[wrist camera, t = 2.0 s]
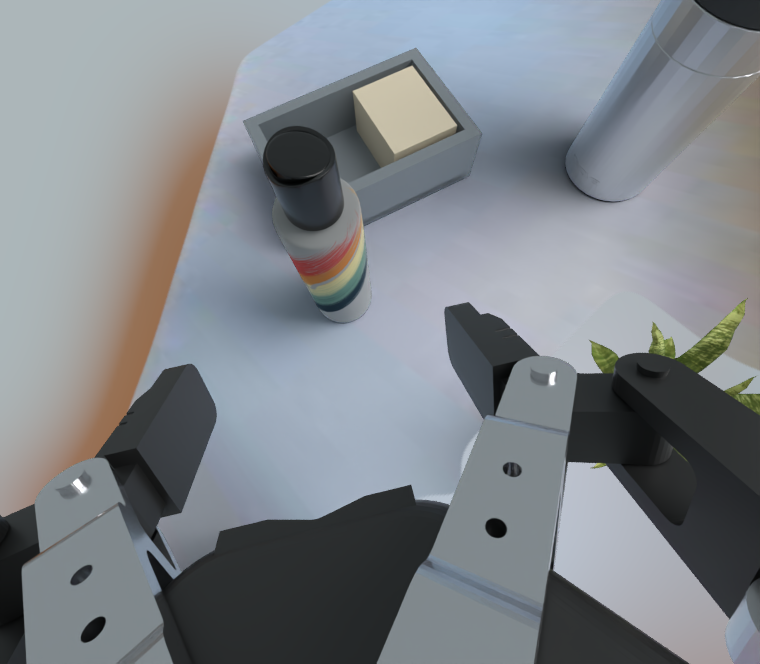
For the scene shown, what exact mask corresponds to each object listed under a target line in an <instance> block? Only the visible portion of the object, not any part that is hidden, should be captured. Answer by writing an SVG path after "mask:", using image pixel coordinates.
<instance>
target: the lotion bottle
mask: <svg viewBox="0 0 760 664" xmlns="http://www.w3.org/2000/svg"><path fill="white" fill-rule="evenodd" d="M263 167H264V171H265V174H266V176H267V178H268V180H269V182H270V184H271V186H272V188H273V190H274V192H275V195H276V199H275V201H274V204H273V209H272V219H273V224H274V227H275V230H276V232H277V234H278V236H279V238H280V240H281V241H282V243H283V245H284V247H285V249H286V251H287V252H288V254H289V256H290V258H291V260H292V261H293V263H294V265H295V267H296V269H297V271H298V272H299V274H300V276H301V278H302V280H303V281H304V283H305V285H306V287H307V289H308V290H309V292H310V294H311V296H312V298H313V299H314V301H315V303H316V305H317V306H318V308H319V310H320V311H321V312H322V314H323V315H324V316H326V317H327V318H328V319H330V320H332V321H335V322H339V323H347V322H352V321H354V320H357V319H358V318H360V317H361V316H362V315H363V314H364V313H365V312H366V311H367V309H368V307H369V305H370V302H371V284H370V276H369V268H368V260H367V252H366V244H365V236H364V228H363V221H362V213H361V207H360V203H359V199H358V197H357V195H356V193H355V191H354V190H353V188H352V187H351V186H350V185H349V184H348V183H347V182H345V181H344V180H342V179H341V178H340V175H339V170H338V164H337V159H336V154H335V150H334V148H333V146H332V144H331V143H330V141H329V140H328V139H327V138H326V137H325V136H323V135H322V134H321V133H319V132H317V131H316V130H313V129H311V128H308V127H304V126H289V127H285V128H283V129H281V130H279V131H277V132H276V133H275V134H273V135H272V137H271V138H270V139H269V140H268V142H267V144H266V146H265V149H264V153H263Z"/></svg>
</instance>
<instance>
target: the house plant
mask: <svg viewBox="0 0 760 664" xmlns="http://www.w3.org/2000/svg"><path fill="white" fill-rule="evenodd" d="M747 299H748V298H747ZM747 299H745V300H744V301H742V302H741V303H740V304H739V305H738V306H737V307H736V308H735V309H734V310H733V311H732V312H731V313H729V314H728V315H727V316H726V317H725V318H724V319H723V320H722V321H721V322H720V323H719V324H718V325H717V326H716V327H715V328H713V329H712V330H711V331H710V332H709V333H708V334H707V335H706V336H705V337H703V338H702V339H701V340H700V341H699V342H698V343H697V344H696V345H694V346H693V347H692V348H691V349H690V350H688V351H687V352H685V353H684V354H683V355H681V356H680V357H678V358H675V346H674V342H673V339H672V337H671V338H670V339H666V340H664V339H663V335H662V333H661V331H660V330H659V329H658V328H657V326H656V324H655V323H653V327H652V331H651V333H652V338H653V342H652V344H651V346H650V349H649V353H651V354H658V355H662V356H666V357H669V358H672V359H674V360H677V361H679V362H680V363H682V364H684V365H685V366H687V367H688V368H690V369H691V370H693V371H694V372H696V373H699V372H700V371H702V370H703V369H704V368H706V367H707V366H708V365H709V364H711V363H712V362H713V361H714V360H716V359H717V358H718V357H719V356H720V355H721V354H722V353H723V352H725V351H726V350H727V348H728V346H729V344H730V342H731V340H732V337H733V334H734V331H735V329H736V328H737V326H738V325H739V323H740V322H741V320H742V318H743V316H744V314H745V301H746V300H747ZM590 342H591V343H592V356H593V358H594V361H595V362H596V364H597V365H598V367H599V368H600V369H601V371H602V372H603V373H614V368H615V363H616V361H617V360H618V359H619V358H618V356H617V354H616V353H614V352H613V351H612V350H610V349H608V348H606V347H604V346H602V345H600V344H597V343H595V342H593V341H590ZM753 378H754V377H752V378H750V379H748V380H746V381H744V382H742V383H741V384H738V385H736V386H734V387H731V388H729V389H727V390H725V391H724V392H726V393H727V394H729V395H730V396H732V397H733V398H735V399H736V400H738V401H739V402H741V403H742V404H744V405H745V406H747V407H748V408H750V409H751V410H753V411H754V412H756V413H757V414H759V415H760V394H738V393H740V392H741V391H743V390H744V389H746V388H747V387H748V385H749V384H750V382H751V381H752V380H753ZM673 449H675V448H673ZM675 450H676V449H675ZM676 451H677V450H676ZM677 452H678V451H677ZM678 453H679V452H678ZM679 454H680V453H679ZM680 455H681V454H680ZM681 456H682V455H681ZM682 457H683V456H682ZM683 458H684V457H683ZM684 459H685V458H684ZM685 460H686V459H685ZM686 461H687V460H686ZM687 462H688V461H687ZM603 466H607V465H606V464H605V463H597V464H596V465H595V466H594V467H593V468H599V467H603Z"/></svg>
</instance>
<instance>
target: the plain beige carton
mask: <svg viewBox="0 0 760 664" xmlns="http://www.w3.org/2000/svg"><path fill="white" fill-rule="evenodd" d="M353 99H354V108H355V118H356V127H357V132H358V133H359V135H360V136H361V138H362V139H363V141H364V143H365V144H366V146H367V147H368V149H369V150H370V152H371V153H372V155H373V157H374V158H375V160H376V161H377V163H378V164H379V166H380V167H381V168H382V167H384V166H387V165H389V164H391V163H393V162H395V161H398V160H400V159H402V158H404V157H406V156H408V155H411V154H413V153H415V152H417V151H419V150H421V149H424V148H426V147H428V146H430V145H432V144H434V143H437V142H439V141H441V140H443V139H445V138H448V137H450V136H452V135H454V134H455V133H456V129H457V124H456V123H455V122H454V120H453V119H452V118H451V116H450V115H449V114H448V112H447V111H446V110H445V108H444V107H443V106H442V104H441V103H440V102H439V100H438V99H437V98H436V96H435V95H434V94H433V92H432V91H431V90H430V89H429V87H428V86H427V85H426V83H425V82H424V81H423V79H422V78H421V77H420V75H419V74H418V73H417V71H416V70H415V69H414V67H413V66H410V67H408V68H405V69H403V70H401V71H398V72H396V73H394V74H391V75H389V76H387V77H384V78H382V79H380V80H377V81H375V82H373V83H370V84H368V85H366V86H363V87H361V88H359V89H356V90H354V91H353Z"/></svg>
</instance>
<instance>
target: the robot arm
mask: <svg viewBox="0 0 760 664" xmlns="http://www.w3.org/2000/svg"><path fill="white" fill-rule="evenodd" d="M759 76H760V0H661V1H660V3H659V5H658V6H657V8H656V10H655V11H654V13H653V15H652V16H651V18H650V19H649V21H648V23H647V24H646V26H645V28H644V29H643V31H642V32H641V34H640V36H639V37H638V39H637V40H636V42H635V44H634V45H633V47H632V48H631V50H630V52H629V53H628V55H627V57H626V58H625V60H624V61H623V63H622V65H621V66H620V68H619V69H618V71H617V73H616V74H615V76H614V77H613V79H612V81H611V82H610V84H609V85H608V87H607V89H606V90H605V92H604V94H603V95H602V97H601V98H600V100H599V102H598V103H597V105H596V106H595V108H594V110H593V111H592V113H591V114H590V116H589V118H588V119H587V121H586V122H585V124H584V126H583V127H582V129H581V130H580V132H579V134H578V135H577V137H576V138H575V140H574V142H573V143H572V145H571V147H570V148H569V150H568V152H567V155H566V161H565V164H566V170H567V173H568V175H569V177H570V179H571V180H572V182H573V183H574V184H575V185H576V186H577V187H578V188H579V189H580V190H581V191H583V192H584V193H586V194H587V195H590V196H592V197H594V198H597V199H600V200H604V201H623V200H627V199H630V198H632V197H634V196H636V195H638V194H639V193H640V192H641V191H642V190H643V189H645V188H646V187H647V186H648V185H649V184H650V183H651V182H652V181H653V180H654V179H655V178H656V177H657V176H658V175H659V174H660V173H661V172H662V171H663V170H664V169H665V168H666V167H667V166H668V165H669V164H670V163H671V162H672V161H673V160H674V159H675V158H676V157H677V156H678V155H679V154H680V153H681V152H682V151H684V150H685V149H686V148H687V147H688V146H689V145H690V144H691V143H692V142H693V141H694V140H695V139H696V138H697V137H698V136H699V135H700V134H701V133H702V132H703V131H704V130H705V129H706V128H707V127H708V126H709V125H710V124H711V123H712V122H713V121H714V120H715V119H716V118H717V117H718V116H719V115H720V114H721V113H722V112H723V111H724V110H725V109H726V108H727V107H728V106H729V105H730V104H731V103H732V102H733V101H735V100H736V99H737V98H738V97H739V96H740V95H741V94H742V93H743V92H744V91H745V90H746V89H747V88H748V87H749V86H750V85H751V84H752V83H753V82H754V81H755V80H756V79H757V78H758V77H759ZM444 314H445V325H446V335H447V345H448V353H449V357H450V361H451V364H452V366H453V368H454V370H455V372H456V373H457V375H458V377H459V378H460V380H461V382H462V383H463V385H464V387H465V389H466V390H467V392H468V394H469V395H470V397H471V399H472V401H473V402H474V404H475V406H476V407H477V409H478V411H479V412H480V414H481V416H482V418H483V419H484V421H483V424H482V426H481V429H480V431H479V434H478V436H477V439H476V441H475V444H474V446H473V449H472V451H471V454H470V456H469V459H468V461H467V464H466V466H465V469H464V471H463V474H462V476H461V479H460V481H459V484H458V486H457V489H456V491H455V494H454V496H453V499H452V501H451V504H450V505H448V504H445V503H441V502H437V501H429V500H415V498H414V494H413V490H412V486H411V485H408V486H404V487H400V488H396V489H392V490H388V491H384V492H380V493H375V494H371V495H367V496H364V497H362V498H360V499H358V500H356V501H354V502H352V503H350V504H348V505H346V506H344V507H342V508H340V509H338V510H336V511H334V512H332V513H330V514H327V515H325V516H323V517H321V518H319V519H315V520H265V521H261V522H257V523H252V524H248V525H244V526H240V527H236V528H232V529H228V530H224V531H220V533H219V537H218V541H217V544H216V548H215V551H213V552H211V553H209V554H207V555H206V556H204V557H202V558H201V559H199V560H197V561H196V562H195V563H193V564H192V565H190V566H189V567H188V568H186V569H185V570H184V571H183V572H181V570H180V568H179V566H178V564H177V562H176V560H175V558H174V556H173V554H172V552H171V549H170V547H169V545H168V543H167V541H166V539H165V537H164V535H163V533H162V532H161V531H160V529H159V528H158V527H157V524H158V522H159V520H160V518H162V517H166V516H170V515H174V514H178V513H181V512H182V509H183V507H184V504H185V501H186V499H187V496H188V494H189V491H190V488H191V486H192V483H193V480H194V478H195V475H196V473H197V470H198V467H199V465H200V462H201V459H202V457H203V454H204V452H205V449H206V446H207V444H208V441H209V438H210V436H211V433H212V431H213V428H214V425H215V423H216V417H217V413H216V407H215V404H214V401H213V399H212V397H211V395H210V393H209V391H208V389H207V387H206V386H205V384H204V382H203V380H202V378H201V376H200V374H199V372H198V370H197V368H196V367H195V366H194V365H193V364H187V365H182V366H178V367H173V368H169V369H165V370H164V371H163V372H162V373H161V374H160V376H159V377H158V379H157V380H156V382H155V383H154V384H153V386H152V387H151V389H149V390H148V391H147V392H146V393H144V394H143V395H142V396H141V397H140V398H138V399H137V400H136V401H135V402H134V404H133V405H132V406H131V408H130V409H129V411H128V412H127V415H126V416H124V418H123V419H122V420H121V422H120V423H119V426H117V427H116V429H115V430H114V431H113V433H112V434H111V436H110V437H109V438H108V440H107V441H106V442H105V444H104V445H103V447H102V448H101V450H100V451H99V452H98V453H97V455H96V456H95V458H92V459H88V460H85V461H82V462H80V463H77V464H75V465H73V466H71V467H69V468H68V469H66V470H64V471H63V472H61V473H60V474H58V475H57V476H56V477H54V478H53V479H52V480H51V481H50V482H49V483H47V484H46V486H45V487H44V488H43V489H42V490H41V491H40V493H39V494H38V496H37V498H36V500H35V504H33V505H31V506H29V507H26V508H24V509H22V510H20V511H17V512H15V513H12V514H10V515H8V516H6V517H2V516H1V515H0V664H689V663H688V662H686V661H685V660H683V659H682V658H680V657H679V656H677V655H676V654H674V653H673V652H671V651H670V650H669V649H667V648H666V647H664V646H663V645H661V644H660V643H658V642H657V641H655V640H654V639H653V638H651V637H649V636H648V635H647V634H645V633H644V632H642V631H641V630H639V629H638V628H636V627H635V626H633V625H632V624H630V623H629V622H628V621H626V620H625V619H623V618H622V617H620V616H619V615H617V614H616V613H614V612H613V611H612V610H610V609H609V608H607V607H606V606H604V605H602V604H601V603H600V602H598V601H597V600H595V599H594V598H593V597H591V596H590V595H588V594H587V593H585V592H584V591H582V590H581V589H579V588H578V587H576V586H575V585H574V584H572V583H570V582H569V581H568V580H566V579H565V578H563V577H562V576H560V575H559V574H557V573H556V572H554V566H555V558H556V550H557V542H558V533H559V525H560V517H561V510H562V503H563V495H564V488H565V481H566V472H567V466H568V462H584V463H585V462H586V463H605V464H606V465H607V466H608V467H609V469H610V470H611V471H612V472H613V474H614V475H615V476H616V477H617V479H618V480H619V481H620V482H621V484H622V485H623V486H624V487H625V489H626V490H627V491H628V493H629V494H630V495H631V496H632V498H633V499H634V500H635V501H636V503H637V504H638V505H639V506H640V508H641V509H642V510H643V511H644V512H645V514H646V515H647V516H648V518H649V519H650V520H651V521H652V523H653V524H654V525H655V526H656V528H657V529H658V530H659V531H660V533H661V534H662V535H663V536H664V538H665V539H666V540H667V541H668V542H669V544H670V545H671V546H672V548H673V549H674V550H675V551H676V553H677V554H678V555H679V556H680V558H681V559H682V560H683V561H684V563H685V564H686V565H687V567H688V568H689V569H690V570H691V572H692V573H693V574H694V575H695V577H697V579H698V580H699V582H700V583H701V584H702V585H703V587H704V588H705V589H706V590H707V592H708V593H709V594H710V595H711V597H712V598H713V599H714V600H715V602H716V603H717V604H718V605H719V607H720V608H721V609H722V610H723V612H725V614H726V615H727V617H728V618H729V619H730V620H729V622H728V624H727V627H726V632H725V639H726V645H727V648H728V652H729V655H730V657H731V659H732V661H733V663H734V664H760V415H759V414H757V413H756V412H754V411H753V410H751V409H750V408H748V407H747V406H745V405H744V404H742V403H741V402H739V401H738V400H736V399H735V398H733V397H732V396H730V395H729V394H727V393H726V392H724V391H723V390H721V389H720V388H718V387H717V386H715V385H714V384H712V383H711V382H709V381H708V380H706V379H705V378H703V377H702V376H700V375H699V374H697V373H696V372H694V371H693V370H691V369H690V368H688V367H687V366H685V365H684V364H682V363H680V362H679V361H677V360H674V359H672V358H669V357H666V356H662V355H658V354H651V353H633V354H628V355H625V356H622V357H621V358H619V359H618V360H617V361H616V363H615V368H614V373H599V374H598V373H595V374H580V373H576V370H575V369H574V368H573V367H572V366H571V365H570V364H569V363H567V362H565V361H563V360H561V359H558V358H554V357H549V356H539V355H538V354H537V353H536V352H535V351H534V350H533V349H532V348H531V347H530V346H529V345H528V344H527V343H526V342H525V341H524V340H523V339H522V338H521V337H520V336H519V335H518V336H517V333H516V332H515V331H514V330H513V329H510V326H508V325H507V324H506V323H505V322H504V321H503V320H502V319H501V318H498V317H496V316H494V315H491V314H489V313H487V314H482V315H480V314H479V313H478V311H477V310H476V309H475V308H474V307H473V306H472V305H471V304H470V303H469V302H467V303H462V304H458V305H453V306H449V307H446V308H445V311H444ZM673 448H675V449H676V450H677V451H678V452H679V453H680V454H681V455H682V456H683V457H684V458H685V459H686V460H687V461H688V462H687V461H686V460H685V459H684V458H683V457H682V456H681V455H680V454H679V453H678V452H677V451H676V450H675V449H673Z"/></svg>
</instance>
